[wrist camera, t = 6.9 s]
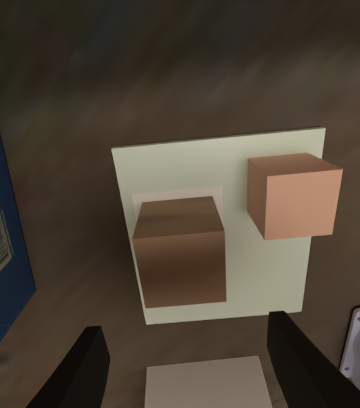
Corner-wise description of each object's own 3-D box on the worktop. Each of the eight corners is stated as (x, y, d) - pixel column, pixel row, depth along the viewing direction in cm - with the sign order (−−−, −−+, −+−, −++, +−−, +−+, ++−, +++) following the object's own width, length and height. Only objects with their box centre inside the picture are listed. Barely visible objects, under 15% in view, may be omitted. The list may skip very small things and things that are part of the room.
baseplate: (298, 306, 24) (301, 312, 23) (146, 319, 24) (146, 325, 23) (320, 126, 17) (326, 128, 17) (113, 146, 18) (111, 149, 17)
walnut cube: (214, 254, 20) (226, 301, 16) (151, 259, 21) (145, 308, 16) (212, 195, 18) (224, 230, 14) (142, 202, 19) (132, 239, 14)
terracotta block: (301, 206, 19) (331, 234, 15) (247, 211, 19) (264, 240, 15) (307, 152, 17) (342, 169, 14) (247, 158, 18) (267, 176, 14)
